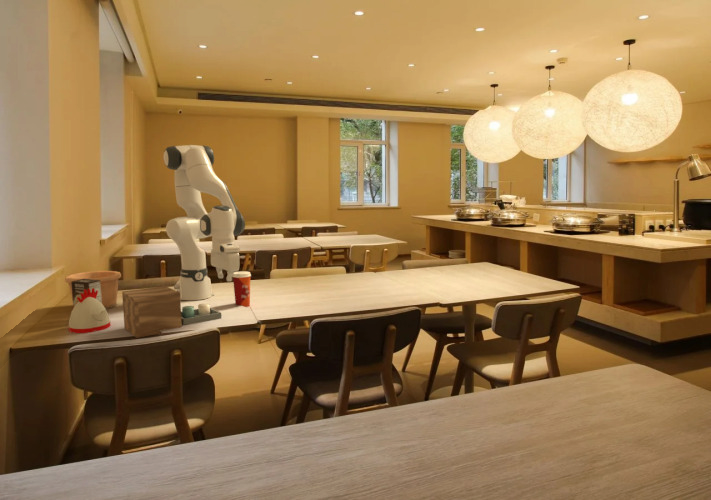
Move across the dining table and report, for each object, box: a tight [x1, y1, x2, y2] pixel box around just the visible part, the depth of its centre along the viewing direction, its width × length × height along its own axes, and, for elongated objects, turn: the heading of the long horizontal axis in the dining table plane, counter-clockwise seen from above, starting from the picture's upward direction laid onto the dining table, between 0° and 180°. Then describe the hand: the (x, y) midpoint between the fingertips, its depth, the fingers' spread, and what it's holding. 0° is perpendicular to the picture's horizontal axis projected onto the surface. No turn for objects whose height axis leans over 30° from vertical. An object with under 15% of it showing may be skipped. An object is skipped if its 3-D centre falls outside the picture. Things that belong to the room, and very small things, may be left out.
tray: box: [181, 307, 222, 326], centre depth 195 cm, size 12×15×3 cm
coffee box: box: [71, 279, 102, 308], centre depth 197 cm, size 9×6×16 cm
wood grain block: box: [121, 285, 183, 339], centre depth 184 cm, size 16×16×14 cm
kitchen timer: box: [68, 288, 111, 334], centre depth 186 cm, size 14×14×15 cm
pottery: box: [64, 270, 122, 310], centre depth 219 cm, size 22×22×14 cm
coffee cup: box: [232, 270, 252, 308], centre depth 219 cm, size 8×8×15 cm
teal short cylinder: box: [181, 305, 195, 318], centre depth 193 cm, size 4×4×5 cm
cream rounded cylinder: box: [197, 303, 211, 316], centre depth 197 cm, size 4×4×5 cm
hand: (224, 279), depth 201 cm, fingers open, 7 cm apart
